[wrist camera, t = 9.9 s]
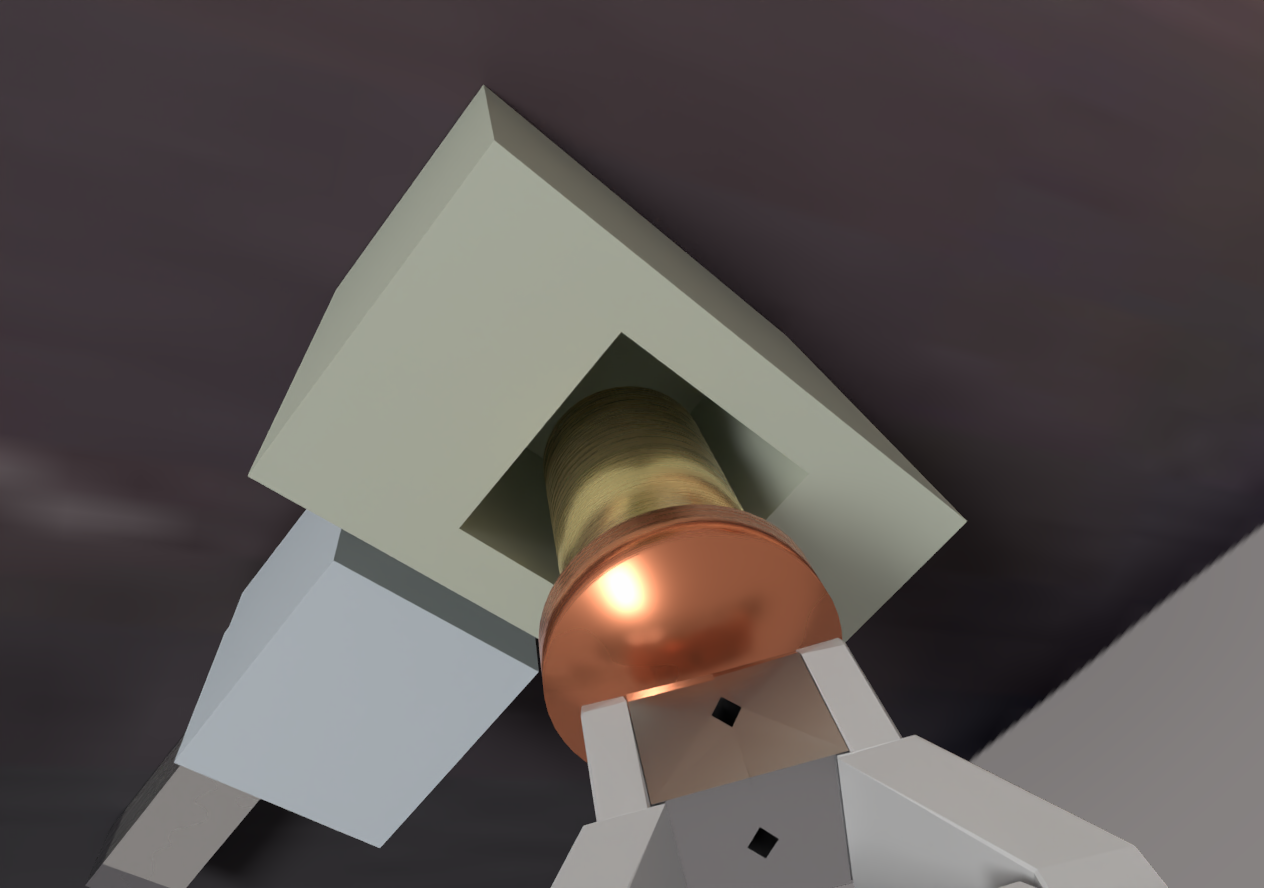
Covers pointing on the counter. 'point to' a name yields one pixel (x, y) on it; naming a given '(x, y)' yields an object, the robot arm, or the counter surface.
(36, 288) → the counter surface
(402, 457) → the block with square hole
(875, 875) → the robot arm
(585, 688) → the copper knob
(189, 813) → the rail
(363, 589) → the block
